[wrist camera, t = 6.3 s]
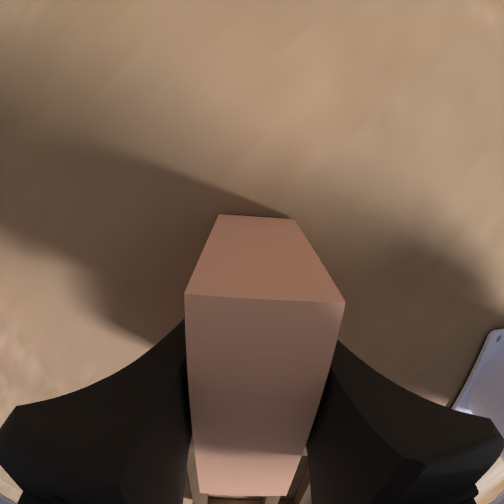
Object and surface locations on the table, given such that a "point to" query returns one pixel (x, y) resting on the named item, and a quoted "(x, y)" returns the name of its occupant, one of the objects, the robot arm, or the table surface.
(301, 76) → the table surface
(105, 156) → the table surface
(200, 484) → the pink rectangular prism
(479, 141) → the table surface
